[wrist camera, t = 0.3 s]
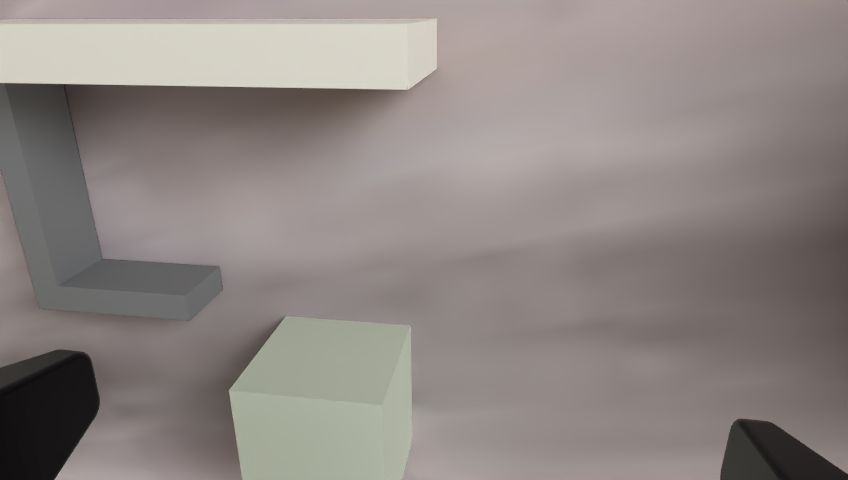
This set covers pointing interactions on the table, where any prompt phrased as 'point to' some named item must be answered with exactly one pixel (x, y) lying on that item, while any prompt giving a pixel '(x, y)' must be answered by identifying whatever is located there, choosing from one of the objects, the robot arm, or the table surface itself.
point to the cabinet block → (326, 402)
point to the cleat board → (164, 66)
